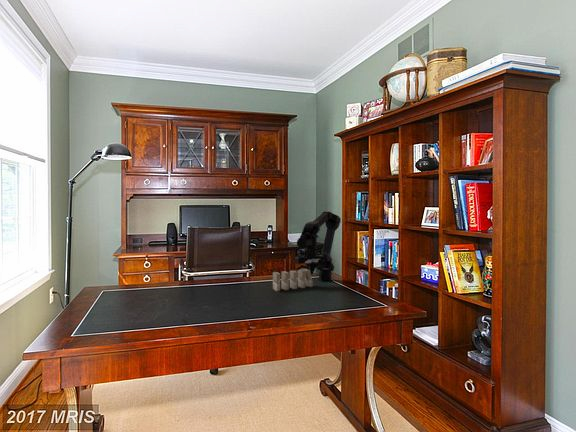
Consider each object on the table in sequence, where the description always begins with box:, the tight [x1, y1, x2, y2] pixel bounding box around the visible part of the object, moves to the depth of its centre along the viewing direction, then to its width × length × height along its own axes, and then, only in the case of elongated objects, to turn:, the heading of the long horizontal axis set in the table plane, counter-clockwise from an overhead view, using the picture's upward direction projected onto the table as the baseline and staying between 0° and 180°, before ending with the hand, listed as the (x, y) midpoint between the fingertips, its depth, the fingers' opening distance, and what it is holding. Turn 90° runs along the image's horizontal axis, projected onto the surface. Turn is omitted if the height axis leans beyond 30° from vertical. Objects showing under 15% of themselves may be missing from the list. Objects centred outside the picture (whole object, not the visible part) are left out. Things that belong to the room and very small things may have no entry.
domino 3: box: [289, 270, 298, 290], centre depth 206 cm, size 2×5×9 cm, turn 26°
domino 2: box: [280, 270, 290, 291], centre depth 204 cm, size 2×5×9 cm, turn 26°
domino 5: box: [303, 268, 314, 288], centre depth 210 cm, size 2×5×9 cm, turn 26°
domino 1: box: [272, 271, 281, 292], centre depth 201 cm, size 2×5×9 cm, turn 26°
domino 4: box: [297, 269, 307, 289], centre depth 208 cm, size 2×5×9 cm, turn 26°
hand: (311, 274), depth 210 cm, fingers closed
